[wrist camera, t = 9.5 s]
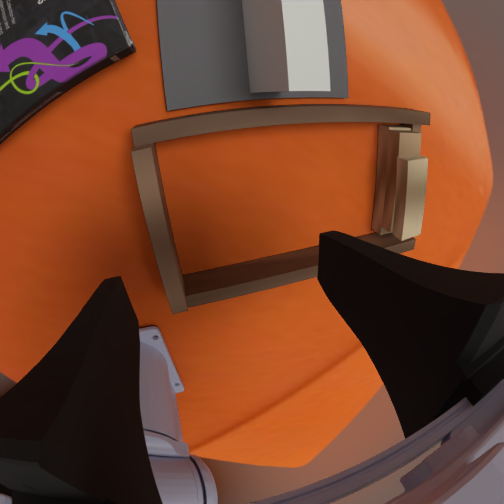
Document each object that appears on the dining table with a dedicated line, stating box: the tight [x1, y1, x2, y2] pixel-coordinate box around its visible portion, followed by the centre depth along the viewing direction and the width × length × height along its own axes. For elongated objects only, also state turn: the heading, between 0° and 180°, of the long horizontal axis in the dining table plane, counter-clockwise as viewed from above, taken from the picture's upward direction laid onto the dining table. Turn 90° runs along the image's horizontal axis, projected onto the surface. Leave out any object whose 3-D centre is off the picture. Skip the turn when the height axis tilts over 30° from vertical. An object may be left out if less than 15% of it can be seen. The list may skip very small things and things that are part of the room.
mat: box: [157, 0, 348, 111], centre depth 14 cm, size 9×12×1 cm
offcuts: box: [371, 125, 428, 241], centre depth 20 cm, size 9×3×4 cm, turn 5°
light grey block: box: [242, 0, 330, 93], centre depth 12 cm, size 8×2×6 cm, turn 5°
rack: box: [131, 104, 430, 314], centre depth 19 cm, size 12×20×4 cm, turn 95°
